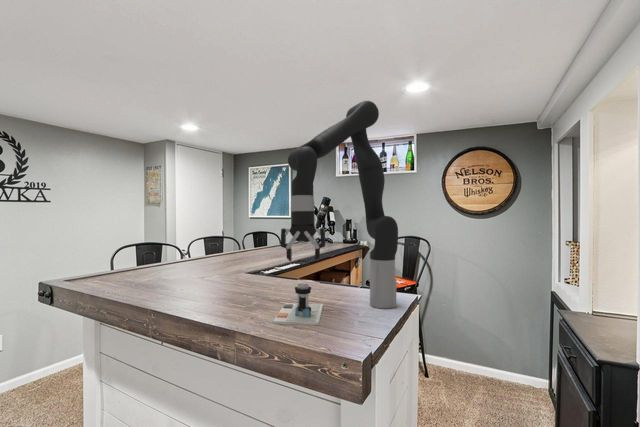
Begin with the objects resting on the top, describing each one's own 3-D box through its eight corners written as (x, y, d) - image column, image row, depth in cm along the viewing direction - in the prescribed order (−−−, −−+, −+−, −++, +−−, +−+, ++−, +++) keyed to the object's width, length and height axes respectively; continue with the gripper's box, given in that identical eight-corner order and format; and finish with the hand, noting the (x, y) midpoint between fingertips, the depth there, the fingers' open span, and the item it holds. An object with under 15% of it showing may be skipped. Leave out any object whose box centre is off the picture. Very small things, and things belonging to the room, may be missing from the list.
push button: (317, 314, 100) (317, 283, 100) (311, 319, 95) (311, 287, 95) (298, 312, 103) (298, 282, 103) (291, 317, 98) (291, 285, 98)
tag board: (322, 306, 114) (322, 302, 114) (318, 325, 94) (318, 320, 94) (285, 305, 115) (285, 301, 115) (273, 323, 95) (273, 319, 95)
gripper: (325, 210, 103) (326, 259, 102) (283, 210, 104) (283, 259, 103) (324, 209, 95) (324, 262, 95) (278, 210, 96) (278, 262, 96)
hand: (303, 260), depth 99 cm, fingers open, 8 cm apart
